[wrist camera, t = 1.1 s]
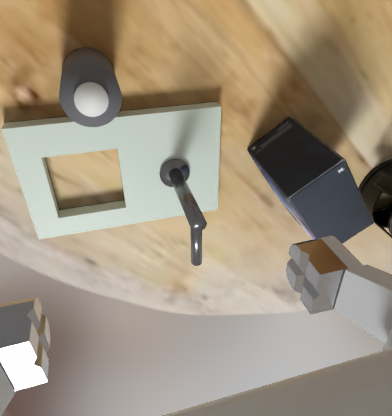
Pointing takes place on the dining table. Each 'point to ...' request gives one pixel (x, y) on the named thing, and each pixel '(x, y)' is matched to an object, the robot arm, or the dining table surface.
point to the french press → (378, 194)
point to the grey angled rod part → (185, 203)
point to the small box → (311, 182)
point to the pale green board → (128, 160)
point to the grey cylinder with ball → (89, 88)
